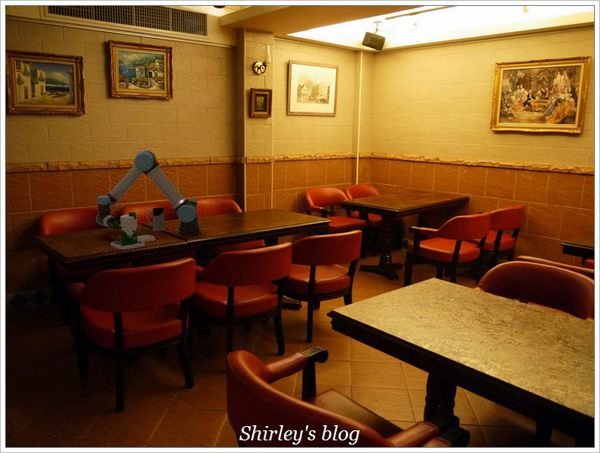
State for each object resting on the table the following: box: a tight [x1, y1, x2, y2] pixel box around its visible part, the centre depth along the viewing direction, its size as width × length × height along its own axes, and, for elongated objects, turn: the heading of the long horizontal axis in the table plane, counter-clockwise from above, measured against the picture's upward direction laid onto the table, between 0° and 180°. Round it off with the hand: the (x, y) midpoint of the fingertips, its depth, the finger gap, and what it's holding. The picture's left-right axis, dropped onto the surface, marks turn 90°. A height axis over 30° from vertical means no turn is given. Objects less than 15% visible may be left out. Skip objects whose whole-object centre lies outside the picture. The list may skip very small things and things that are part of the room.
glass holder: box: [145, 207, 166, 232], centre depth 362 cm, size 9×14×15 cm, turn 78°
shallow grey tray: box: [110, 240, 146, 251], centre depth 315 cm, size 15×15×2 cm
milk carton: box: [119, 211, 138, 246], centre depth 313 cm, size 9×9×20 cm
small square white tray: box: [137, 234, 156, 243], centre depth 330 cm, size 9×9×2 cm
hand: (129, 227), depth 310 cm, fingers open, 5 cm apart
